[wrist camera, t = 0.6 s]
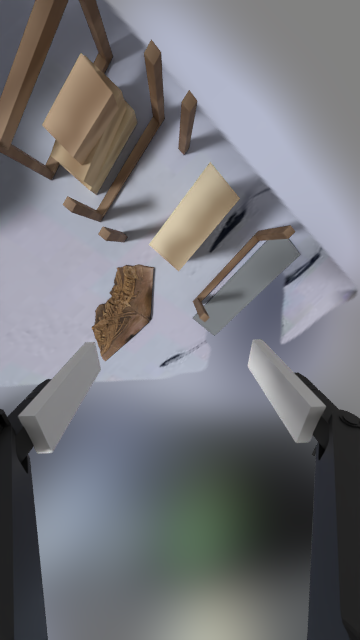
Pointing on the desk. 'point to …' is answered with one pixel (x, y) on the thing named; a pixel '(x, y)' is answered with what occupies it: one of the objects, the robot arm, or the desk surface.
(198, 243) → the pale wooden block
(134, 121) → the offcut
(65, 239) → the desk surface
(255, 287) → the felt mat
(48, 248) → the desk surface
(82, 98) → the offcut
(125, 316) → the wooden fragment
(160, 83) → the rack
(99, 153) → the offcut
